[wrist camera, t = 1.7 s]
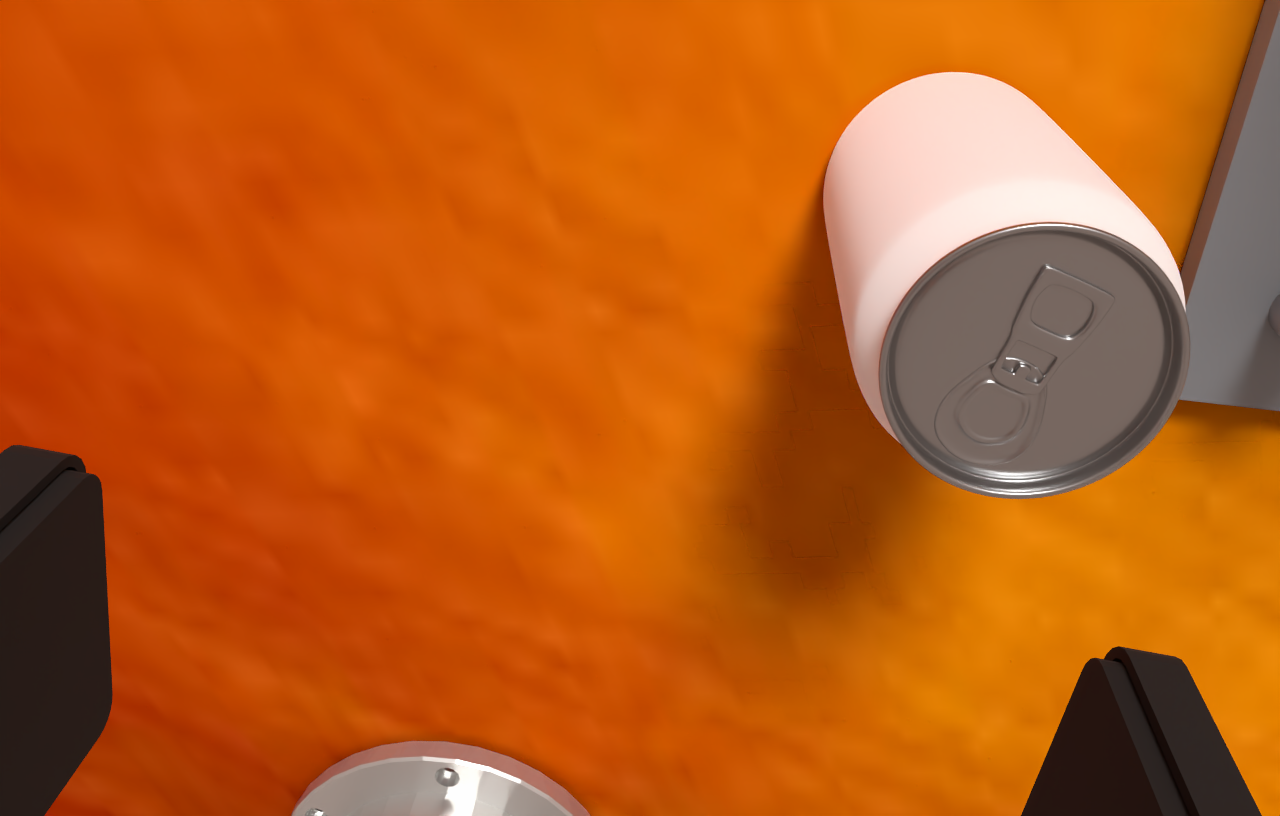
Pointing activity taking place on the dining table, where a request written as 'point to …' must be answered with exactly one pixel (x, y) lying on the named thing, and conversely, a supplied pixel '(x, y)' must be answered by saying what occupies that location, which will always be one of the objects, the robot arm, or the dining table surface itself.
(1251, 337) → the carrier plate
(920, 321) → the can
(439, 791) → the robot arm
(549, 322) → the dining table surface
